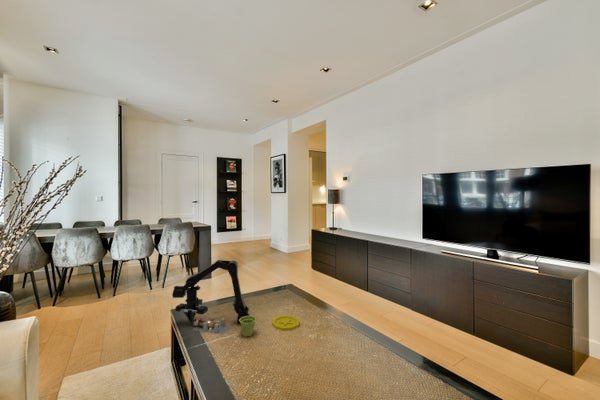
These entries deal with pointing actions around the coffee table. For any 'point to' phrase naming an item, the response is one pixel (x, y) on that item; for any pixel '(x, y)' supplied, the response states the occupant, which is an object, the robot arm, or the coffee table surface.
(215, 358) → the coffee table surface
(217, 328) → the board
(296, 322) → the decorative disc
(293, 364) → the coffee table surface
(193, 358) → the coffee table surface
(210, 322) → the copper tube
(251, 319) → the plant pot
